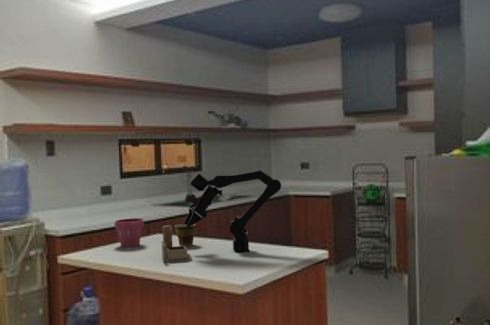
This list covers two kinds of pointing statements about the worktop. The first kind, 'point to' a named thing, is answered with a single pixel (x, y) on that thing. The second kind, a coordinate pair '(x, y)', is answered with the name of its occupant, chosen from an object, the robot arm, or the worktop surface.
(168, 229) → the wooden pestle
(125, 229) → the plant pot
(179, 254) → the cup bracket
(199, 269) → the worktop surface
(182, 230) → the ceramic cup
